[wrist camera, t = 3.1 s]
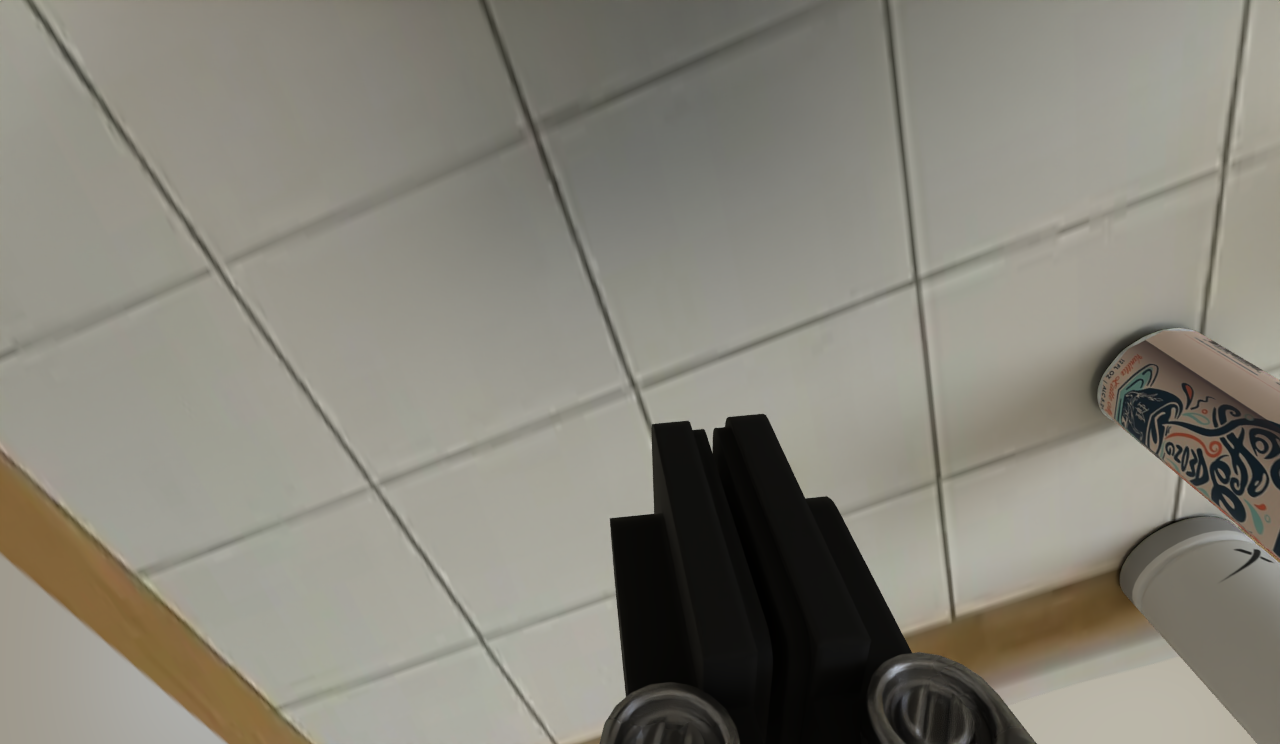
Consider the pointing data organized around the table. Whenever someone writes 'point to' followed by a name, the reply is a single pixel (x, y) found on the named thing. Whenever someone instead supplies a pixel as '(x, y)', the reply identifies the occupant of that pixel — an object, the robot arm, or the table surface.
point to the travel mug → (1215, 613)
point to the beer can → (1204, 422)
